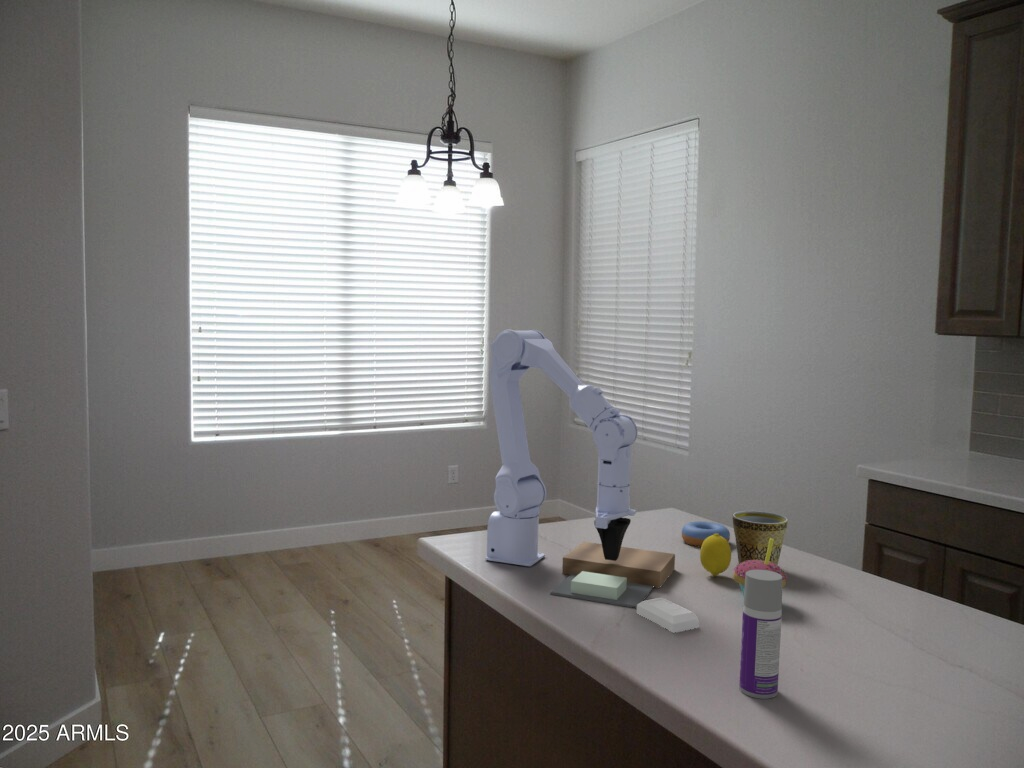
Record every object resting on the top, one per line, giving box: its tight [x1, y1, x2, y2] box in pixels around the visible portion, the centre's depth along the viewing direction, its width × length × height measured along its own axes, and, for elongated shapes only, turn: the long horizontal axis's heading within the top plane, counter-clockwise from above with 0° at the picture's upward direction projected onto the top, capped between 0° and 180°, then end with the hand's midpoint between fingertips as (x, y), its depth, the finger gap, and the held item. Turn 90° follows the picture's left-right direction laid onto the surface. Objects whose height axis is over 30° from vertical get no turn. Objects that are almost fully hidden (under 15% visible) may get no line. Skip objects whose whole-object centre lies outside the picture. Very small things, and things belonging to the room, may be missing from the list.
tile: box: [571, 571, 627, 600], centre depth 140 cm, size 8×6×2 cm
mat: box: [549, 574, 654, 609], centre depth 141 cm, size 15×11×1 cm
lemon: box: [699, 533, 732, 577], centre depth 150 cm, size 6×6×8 cm
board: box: [561, 541, 676, 588], centre depth 152 cm, size 18×12×3 cm, turn 67°
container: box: [739, 570, 783, 700], centre depth 104 cm, size 5×5×15 cm
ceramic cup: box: [732, 510, 789, 566], centre depth 157 cm, size 13×10×10 cm
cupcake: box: [732, 535, 788, 599], centre depth 137 cm, size 9×8×12 cm
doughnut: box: [681, 520, 731, 548], centre depth 173 cm, size 10×10×5 cm
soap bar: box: [636, 596, 700, 634], centre depth 128 cm, size 5×9×3 cm, turn 29°
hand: (611, 559), depth 147 cm, fingers closed
